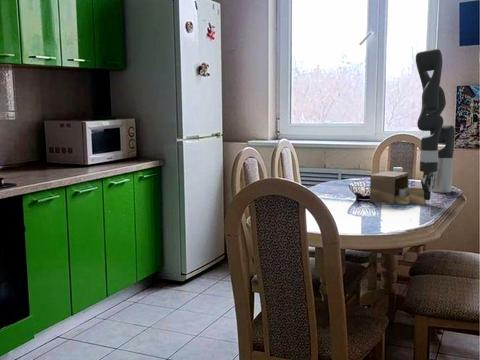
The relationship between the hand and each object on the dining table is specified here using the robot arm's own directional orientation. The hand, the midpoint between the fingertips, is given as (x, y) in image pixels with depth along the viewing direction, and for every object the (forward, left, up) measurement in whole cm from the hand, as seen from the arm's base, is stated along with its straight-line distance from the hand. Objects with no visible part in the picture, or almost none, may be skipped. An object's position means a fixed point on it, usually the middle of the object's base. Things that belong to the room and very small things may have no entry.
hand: (427, 199), depth 241 cm
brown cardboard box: (0, -17, -2) cm, 17 cm away
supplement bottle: (-20, -21, -2) cm, 29 cm away
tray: (0, -7, -2) cm, 7 cm away
